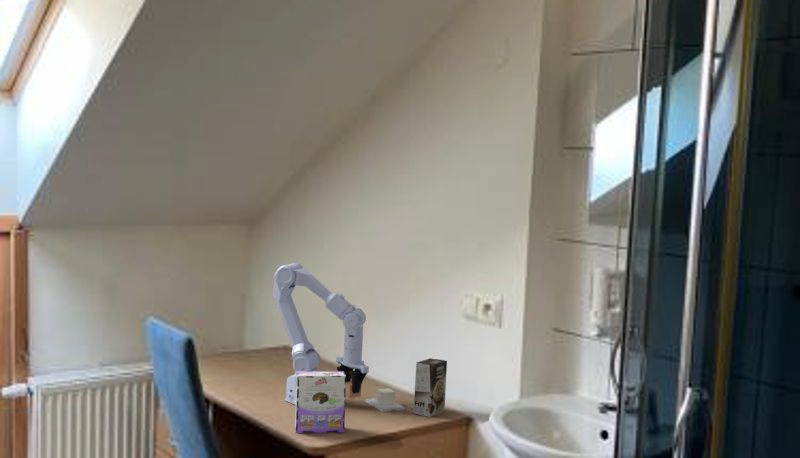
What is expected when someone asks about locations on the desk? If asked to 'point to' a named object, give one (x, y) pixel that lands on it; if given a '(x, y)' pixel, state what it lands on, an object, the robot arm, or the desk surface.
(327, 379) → the candy box
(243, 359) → the desk surface
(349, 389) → the brown block
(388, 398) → the cream block
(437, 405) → the coffee box
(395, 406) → the hard drive
